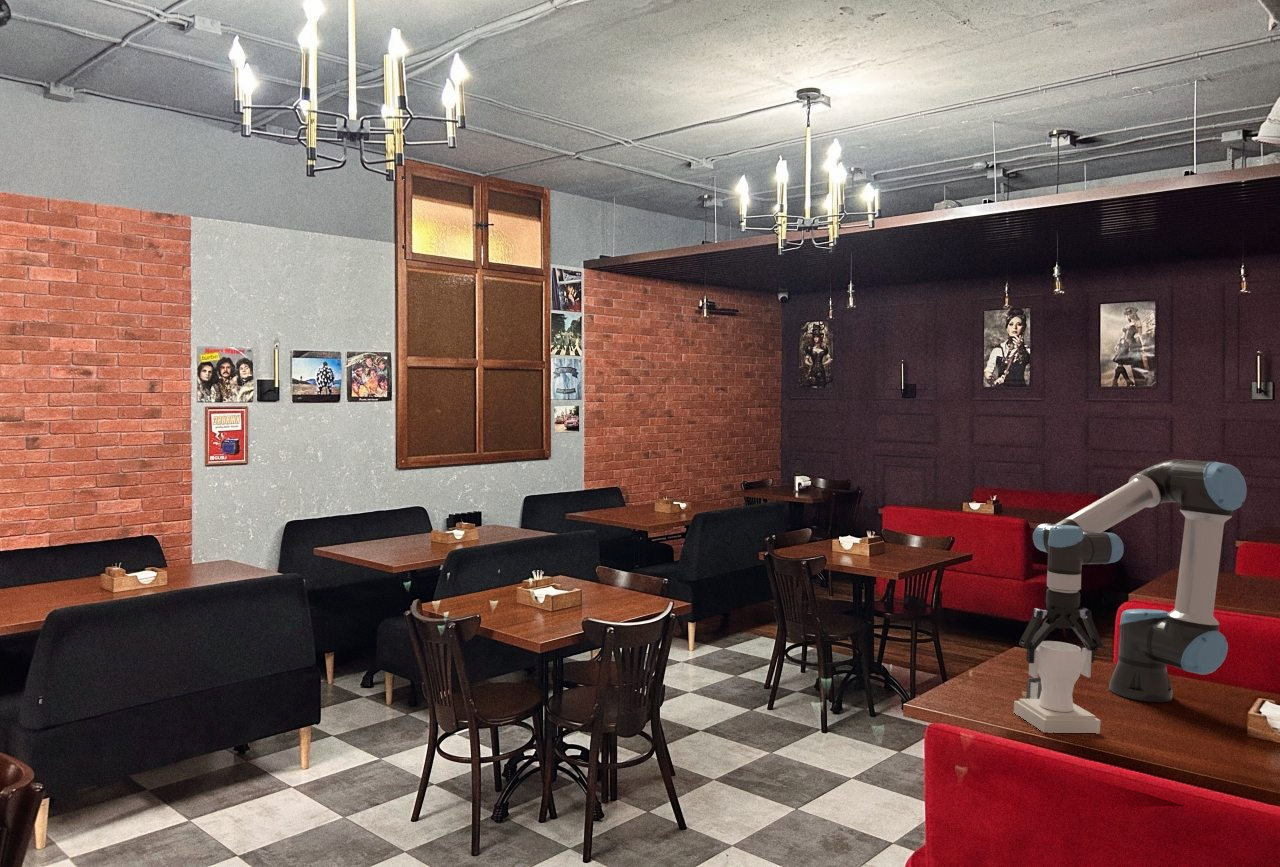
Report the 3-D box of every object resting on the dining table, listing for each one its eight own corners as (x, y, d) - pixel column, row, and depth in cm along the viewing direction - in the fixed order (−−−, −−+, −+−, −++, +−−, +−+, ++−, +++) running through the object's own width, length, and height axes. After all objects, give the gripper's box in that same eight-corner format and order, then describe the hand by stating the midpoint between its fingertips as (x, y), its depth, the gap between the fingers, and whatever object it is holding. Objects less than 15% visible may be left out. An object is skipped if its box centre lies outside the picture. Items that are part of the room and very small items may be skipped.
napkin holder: (1052, 701, 243) (1054, 674, 243) (1065, 705, 239) (1067, 679, 239) (1025, 705, 238) (1027, 678, 238) (1038, 710, 235) (1040, 683, 235)
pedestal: (1066, 713, 233) (1067, 697, 233) (1099, 733, 219) (1100, 717, 219) (1013, 713, 232) (1014, 697, 231) (1043, 733, 218) (1044, 717, 217)
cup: (1085, 716, 219) (1089, 653, 218) (1037, 711, 221) (1041, 649, 220) (1073, 702, 229) (1077, 642, 229) (1028, 698, 231) (1031, 638, 231)
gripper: (1102, 586, 229) (1098, 670, 230) (1006, 586, 226) (1003, 671, 227) (1121, 592, 222) (1117, 680, 223) (1022, 592, 219) (1018, 681, 220)
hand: (1059, 676), depth 225 cm, fingers open, 13 cm apart
